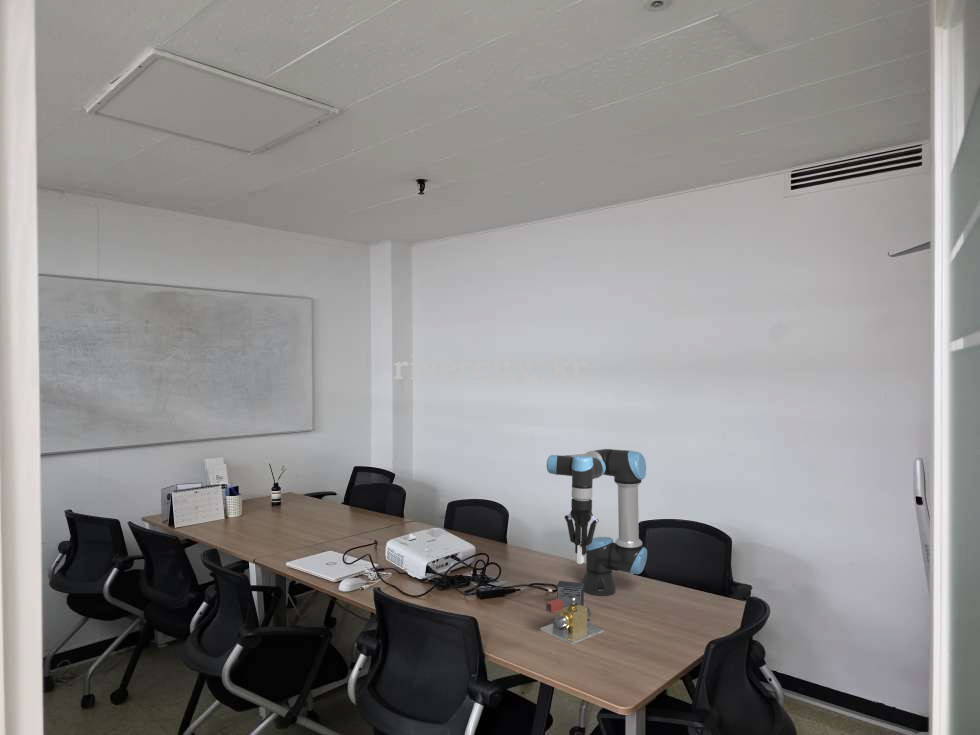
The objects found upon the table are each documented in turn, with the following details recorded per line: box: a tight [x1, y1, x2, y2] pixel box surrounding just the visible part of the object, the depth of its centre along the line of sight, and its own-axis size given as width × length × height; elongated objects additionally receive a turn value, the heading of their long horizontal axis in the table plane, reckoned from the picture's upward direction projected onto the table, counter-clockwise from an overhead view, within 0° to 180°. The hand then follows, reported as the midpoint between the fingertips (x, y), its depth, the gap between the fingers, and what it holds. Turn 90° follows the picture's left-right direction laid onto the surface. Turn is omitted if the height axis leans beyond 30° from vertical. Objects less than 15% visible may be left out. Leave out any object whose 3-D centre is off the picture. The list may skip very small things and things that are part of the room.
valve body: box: [539, 604, 605, 646], centre depth 237 cm, size 18×16×10 cm
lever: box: [545, 594, 578, 613], centre depth 234 cm, size 15×4×3 cm, turn 131°
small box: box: [556, 580, 585, 607], centre depth 259 cm, size 11×6×10 cm, turn 74°
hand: (580, 562), depth 230 cm, fingers closed
